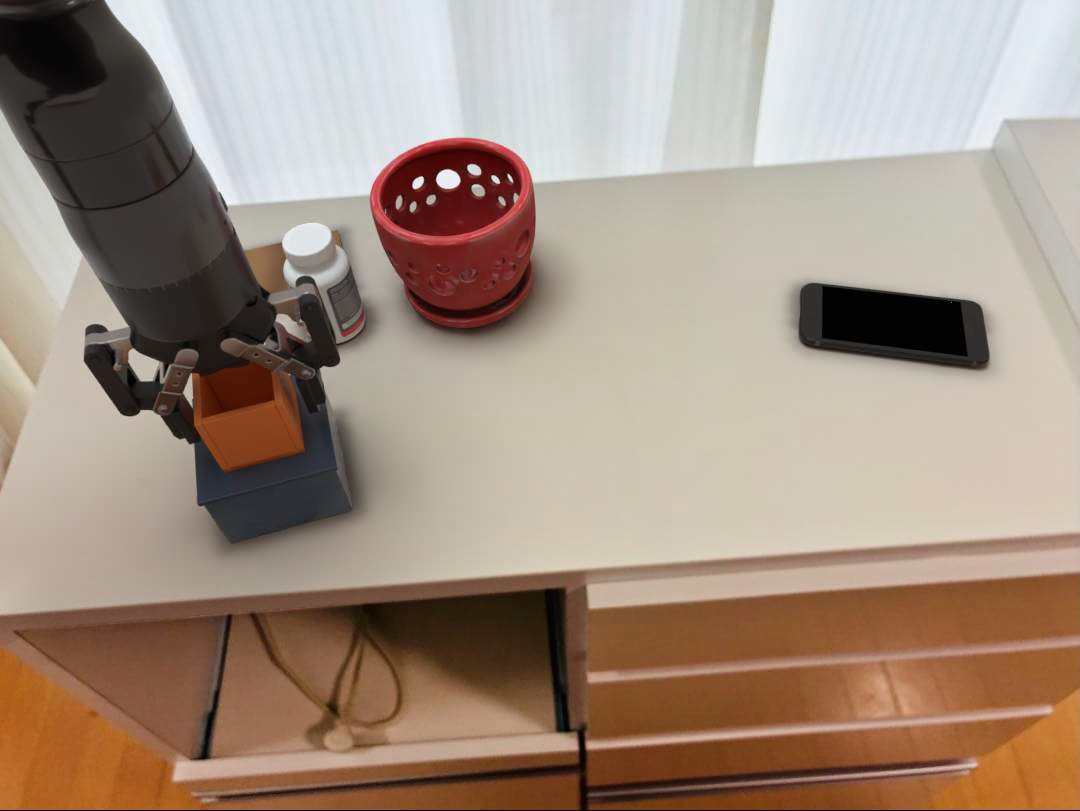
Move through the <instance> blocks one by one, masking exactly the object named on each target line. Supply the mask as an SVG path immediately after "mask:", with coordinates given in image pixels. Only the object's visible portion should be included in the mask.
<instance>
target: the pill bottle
mask: <svg viewBox="0 0 1080 811" xmlns="http://www.w3.org/2000/svg"><path fill="white" fill-rule="evenodd" d="M331 231H332V230H330V228H329V227H328V226H326V225H325V224H323V223H319V222H307V223H301V224H298V225H296V226H294V227H292V228H291V229H289V230H288V231H287V232H286V233H285V235H284V236H283V238H282V240H281V242H282V247H283V250H284V253H285V255H286V258H287V259H286V261H285V263H284V267H283V272H284V277H285V281H286V282H287V285H288V287H289V289H292V288H296V285H295V282H296V280H297V279H298V278H299V277H301V276H310V277H312V278H314V280H315V282H316V285H317V287H318V290H319V293H320V295H321V298H322V300H323V303H324V306H325V308H326V311H327V313H328V316H329V319H330V321H331V324H332V326H333V329H334V332H335V335H336V344H341V343H345V342H347V341H349V340H351V339H353V338H354V337H355V336H357V335H358V334H359V333H360V332H361V330H363V328H364V326H365V323H366V320H367V319H366V316H367V315H366V312H365V307H364V304H363V301H362V298H361V295H360V291H359V287H358V284H357V280H356V278H355V275H354V272H353V268H352V264H351V260H350V258H349V256H348V254H347V252H346V251H345V250H344V249H343V247H342V248H341V247H339V246H338V245H336V244H335V241H334V239H333V236H332V233H331ZM303 327H304V329H305V332H306V334H307V335H308V337H309V338H311V337H310V334H309V332H308V329H307V327H306V325H304V326H303Z"/></svg>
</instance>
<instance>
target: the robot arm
mask: <svg viewBox="0 0 1080 811" xmlns="http://www.w3.org/2000/svg"><path fill="white" fill-rule="evenodd" d="M0 111H1V113H2V115H3V117H4V119H5V121H6V123H7V125H8V127H9V128H10V131H11V133H12V134H13V136H14V137H15V139H16V142H17V143H18V144H19V146H20V147H21V149H22V150H23V152H24V153H25V155H26V157H27V158H28V160H29V161H30V163H31V165H32V166H33V168H34V169H35V171H36V172H37V174H38V176H39V177H40V179H41V181H42V182H43V184H44V186H45V187H46V188H47V190H48V192H49V193H50V196H51V197H52V199H53V201H54V203H55V205H56V207H57V209H58V211H59V214H60V216H61V220H62V221H63V224H64V226H65V227H66V230H67V231H68V234H69V235H70V237H71V239H72V241H73V242H74V244H75V245H76V246H77V249H78V250H79V252H81V254H82V256H83V257H84V259H85V261H86V262H87V264H88V266H89V267H90V268H91V270H92V271H93V273H94V274H95V277H96V278H97V279H98V281H99V282H100V284H101V286H102V287H103V290H105V292H106V293H107V295H108V297H109V299H110V300H111V302H112V303H113V305H114V306H115V308H116V310H117V311H118V312H119V314H120V316H121V317H122V318H123V320H124V322H125V323H126V325H127V327H123V328H118V329H114V330H113V329H112V330H109V329H108V328H107V327H106V326H105V325H103V324H100V323H92V324H89V325H88V326H86V327H85V329H84V344H83V346H84V347H83V362H84V363H85V366H86V367H87V368H88V370H89V371H90V372H91V374H92V375H93V377H94V378H95V380H96V381H97V382H98V384H99V385H100V387H101V389H102V390H103V391H104V393H105V394H106V396H107V397H108V398H109V399H110V401H111V402H112V404H113V405H114V407H115V408H116V410H117V412H118V413H119V414H120V415H121V416H123V417H127V418H128V417H129V418H131V417H136V416H137V415H139V414H140V413H141V411H150V412H151V411H152V412H153V413H154V414H156V415H157V416H159V417H160V418H161V419H162V421H163V422H164V424H165V425H166V427H167V428H168V429H169V431H170V433H171V434H172V435H173V437H175V438H176V439H178V440H179V441H180V440H186V442H187V443H188V445H194V443H198V442H201V435H200V434H199V432H198V431H197V429H196V428H195V426H194V410H193V408H192V404H191V403H190V402H189V400H188V398H187V396H186V395H185V393H184V392H185V389H186V387H187V384H188V382H189V379H190V377H191V375H192V373H193V374H199V376H200V377H202V376H206V375H210V374H213V373H216V372H218V371H220V370H222V369H225V368H239V367H243V366H247V365H250V361H251V362H254V363H256V364H258V365H260V366H262V367H264V368H266V369H268V370H271V371H273V372H277V371H278V370H282V371H284V372H286V373H288V374H289V375H292V376H294V377H295V379H296V384H297V386H298V389H299V391H300V393H301V395H302V398H303V400H304V402H305V404H306V407H307V409H308V411H309V413H310V414H313V413H317V412H320V407H319V404H323V403H325V401H326V395H327V393H326V394H325V392H326V390H325V389H326V388H325V384H324V380H323V377H322V378H321V376H322V374H321V375H320V373H319V369H320V370H321V369H322V368H324V367H326V368H334V367H336V366H338V365H340V363H341V356H340V352H339V350H338V345H337V344H338V343H337V344H336V335H335V332H334V329H333V326H332V324H331V321H330V319H329V316H328V313H327V311H326V308H325V306H324V303H323V300H322V298H321V295H320V293H319V290H318V287H317V285H316V282H315V280H314V278H312V277H310V276H301V277H299V278H298V279H297V280H296V282H295V285H296V288H292V289H288V290H284V291H280V292H276V293H272V294H271V293H270V292H269V291H268V290H266V289H265V288H263V287H262V286H261V285H260V284H259V283H258V281H257V279H256V277H255V275H254V272H253V270H252V268H251V266H250V263H249V261H248V259H247V256H246V254H245V252H244V251H245V250H244V248H243V245H242V243H241V240H240V238H239V235H238V233H237V231H236V228H235V226H234V224H233V222H232V219H231V216H230V215H229V208H228V205H227V202H226V200H225V198H224V196H223V194H222V192H221V191H220V190H219V189H218V187H217V185H216V183H215V180H214V179H213V177H212V175H211V172H210V171H209V169H208V167H207V166H206V165H205V163H204V161H203V160H202V158H201V157H200V155H199V154H198V152H197V150H196V148H195V146H194V144H193V142H192V141H191V137H190V135H189V132H188V131H187V129H186V126H185V124H184V122H183V119H182V117H181V115H180V113H179V111H178V108H177V106H176V103H175V101H174V99H173V97H172V94H171V92H170V89H169V87H168V85H167V83H166V81H165V79H164V77H163V75H162V73H161V71H160V70H159V68H158V66H157V64H156V63H155V61H154V59H153V58H152V56H151V55H150V54H149V52H148V50H146V48H145V47H144V46H143V45H142V43H141V42H140V41H139V39H137V38H136V37H135V36H134V35H133V34H132V33H131V32H130V31H129V30H128V29H127V28H126V27H125V26H124V25H123V23H122V22H121V21H120V20H119V19H118V17H117V16H116V15H115V13H114V12H113V11H112V9H111V8H110V6H109V5H108V3H107V1H106V0H0ZM278 315H285V316H288V317H289V318H290V320H291V321H292V322H295V323H297V324H296V325H297V326H299V327H304V325H306V327H307V329H308V332H309V334H310V337H309V338H310V339H311V340H310V341H308V342H307V341H306V340H304V339H302V338H300V337H299V336H296V335H294V334H292V333H290V332H289V331H288V330H287V329H286V327H285V326H284V325H283V324H282V323H281V322H279V321H277V316H278ZM132 350H135V351H136V352H137V353H139V354H141V355H143V356H145V357H147V358H150V359H153V360H155V361H158V365H157V368H156V370H155V373H154V376H153V378H152V380H142V381H141V380H140V378H139V377H138V375H137V373H136V372H135V370H134V368H133V367H132V366H131V364H130V362H129V361H130V360H129V359H130V358H129V357H130V351H132Z"/></svg>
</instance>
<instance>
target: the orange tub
mask: <svg viewBox="0 0 1080 811" xmlns="http://www.w3.org/2000/svg"><path fill="white" fill-rule="evenodd" d="M289 375H290V374H288V373H286V372H284V371H282V370H278V371H277V372H273V371H271V370H268V369H266V368H264V367H262V366H260V365H258V364H256V363H254V362H251V361H250V365H247V366H243V367H239V368H225V369H222V370H220V371H218V372H216V373H213V374H210V375H206V376H202V377H200V376H199V374H193V373H191V384H192V387H191V388H192V399H193V407H194V426H195V428H196V429H197V431H198V432H199V434H200V435H201V437H202V439H203V440H204V442H205V443H206V445H207V447H208V448H209V450H210V451H211V453H212V455H213V456H214V458H215V459H216V461H217V462H218V464H219V466H220V467H221V469H222V470H223V472H224V473H228V472H231V471H235V470H239V469H243V468H247V467H250V466H254V465H258V464H262V463H266V462H270V461H273V460H277V459H281V458H285V457H289V456H292V455H296V454H300V453H304V452H306V450H305V444H304V437H303V431H302V424H301V417H300V411H299V404H298V398H297V392H296V390H295V388H294V385H293V383H292V381H291V379H290V376H289Z"/></svg>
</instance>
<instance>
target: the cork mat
mask: <svg viewBox="0 0 1080 811" xmlns="http://www.w3.org/2000/svg"><path fill="white" fill-rule="evenodd" d="M330 231H331V233H332V236H333V239H334V241H335V244H336V245H338V246H339V247H341V248H342V249H343V245H342V241H341V237H340V232H339V230H338V229H334V230H330ZM244 252H245V254H246V256H247V259H248V261H249V263H250V266H251V268H252V270H253V272H254V275H255V277H256V279H257V281H258V283H259V284H260V285H261V286H262V287H263V288H265V289H266V290H268V291H269V292H270V293H271V294H272V293H276V292H280V291H284V290H288V289H289V287H288V285H287V282H286V281H285V277H284V272H283V267H284V263H285V261H286V259H287V258H286V255H285V253H284V250H283V247H282V241H281V242H276V243H272V244H268V245H264V246H258V247H255V248H251V249H245V250H244Z"/></svg>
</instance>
